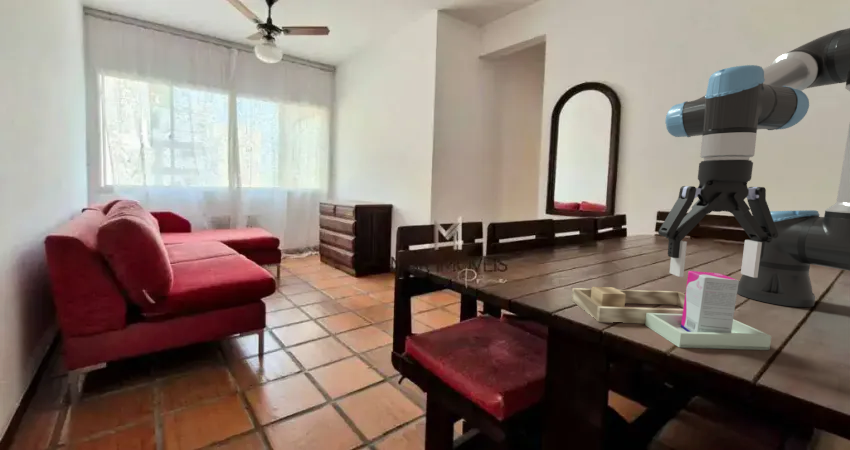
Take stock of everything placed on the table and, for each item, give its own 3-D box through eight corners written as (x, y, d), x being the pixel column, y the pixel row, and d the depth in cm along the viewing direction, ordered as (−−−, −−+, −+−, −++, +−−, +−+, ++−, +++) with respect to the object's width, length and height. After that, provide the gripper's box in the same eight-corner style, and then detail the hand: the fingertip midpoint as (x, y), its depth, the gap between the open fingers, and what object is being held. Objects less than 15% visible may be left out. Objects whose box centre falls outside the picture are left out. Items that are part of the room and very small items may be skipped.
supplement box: (731, 341, 67) (740, 279, 65) (695, 338, 67) (703, 277, 66) (712, 329, 72) (720, 272, 71) (679, 326, 73) (686, 269, 72)
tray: (723, 327, 75) (725, 315, 75) (769, 350, 65) (771, 335, 65) (645, 325, 75) (646, 312, 74) (679, 347, 65) (680, 333, 65)
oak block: (611, 308, 85) (613, 287, 84) (623, 316, 80) (625, 294, 79) (589, 308, 85) (591, 286, 84) (600, 316, 80) (602, 293, 79)
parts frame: (677, 303, 90) (679, 291, 90) (724, 325, 76) (726, 311, 76) (571, 300, 90) (572, 288, 89) (598, 322, 76) (599, 307, 75)
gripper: (775, 161, 70) (760, 270, 72) (643, 159, 70) (634, 269, 72) (817, 159, 62) (799, 281, 65) (670, 157, 62) (658, 280, 65)
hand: (712, 275), depth 69 cm, fingers open, 13 cm apart
